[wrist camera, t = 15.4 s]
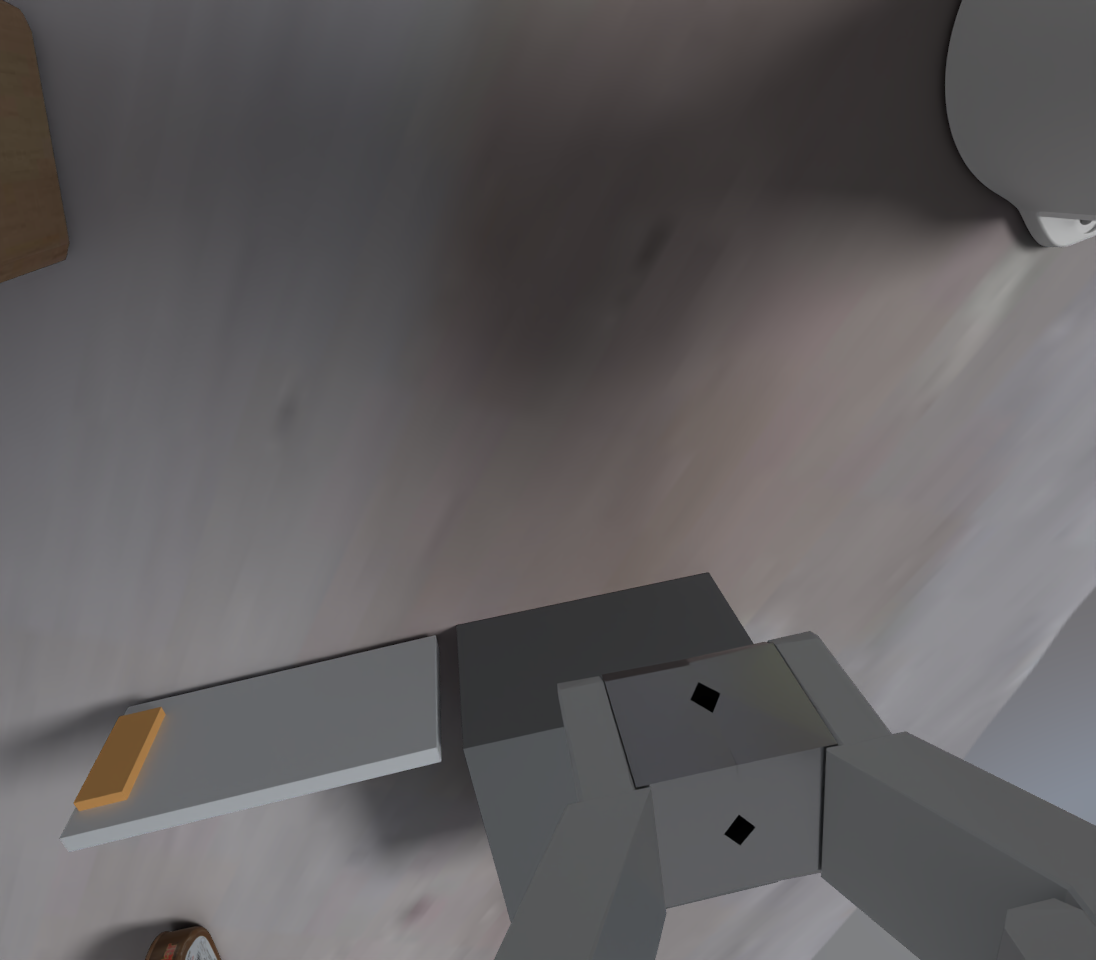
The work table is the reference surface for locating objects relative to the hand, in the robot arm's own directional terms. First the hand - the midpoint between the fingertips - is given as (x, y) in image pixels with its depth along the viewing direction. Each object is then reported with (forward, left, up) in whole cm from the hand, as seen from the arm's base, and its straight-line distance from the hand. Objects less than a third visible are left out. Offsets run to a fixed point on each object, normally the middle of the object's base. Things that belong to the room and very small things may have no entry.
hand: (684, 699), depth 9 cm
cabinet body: (-2, +29, -31) cm, 42 cm away
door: (+16, +21, -30) cm, 40 cm away
